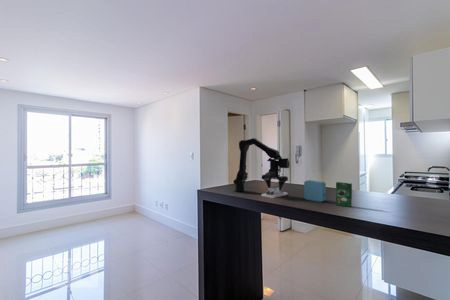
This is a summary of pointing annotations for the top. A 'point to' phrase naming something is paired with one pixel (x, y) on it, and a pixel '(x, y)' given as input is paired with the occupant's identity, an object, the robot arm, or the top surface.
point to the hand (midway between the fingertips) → (274, 189)
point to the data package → (315, 190)
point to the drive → (274, 190)
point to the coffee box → (344, 194)
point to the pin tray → (274, 195)
